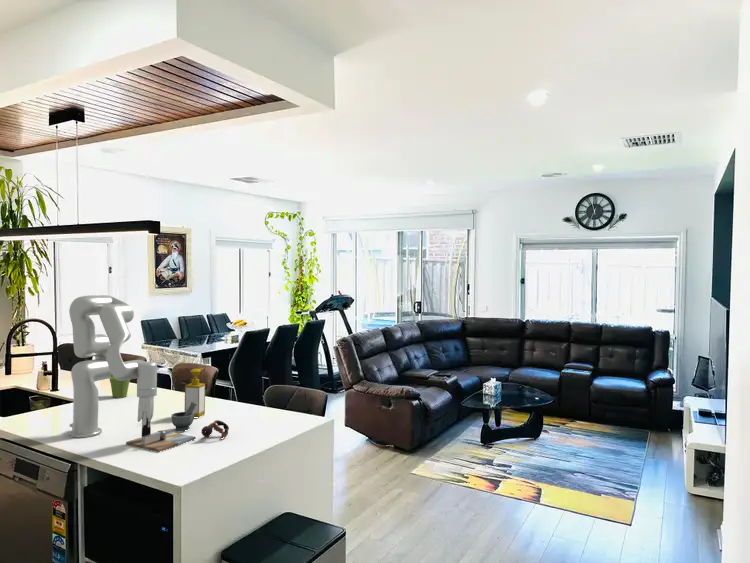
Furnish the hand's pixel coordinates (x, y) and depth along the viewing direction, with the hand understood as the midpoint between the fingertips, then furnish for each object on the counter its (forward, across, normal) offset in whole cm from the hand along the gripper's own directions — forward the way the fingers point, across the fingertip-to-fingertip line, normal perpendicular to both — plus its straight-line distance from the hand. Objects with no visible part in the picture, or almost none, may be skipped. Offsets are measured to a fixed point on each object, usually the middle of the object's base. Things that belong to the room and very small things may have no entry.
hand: (146, 436), depth 218 cm
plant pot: (+3, -94, -27) cm, 98 cm away
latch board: (+3, 0, +6) cm, 6 cm away
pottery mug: (+3, -2, +27) cm, 27 cm away
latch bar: (+1, +3, +3) cm, 5 cm away
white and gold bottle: (+3, -44, +18) cm, 47 cm away
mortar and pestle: (+3, -18, +13) cm, 23 cm away
